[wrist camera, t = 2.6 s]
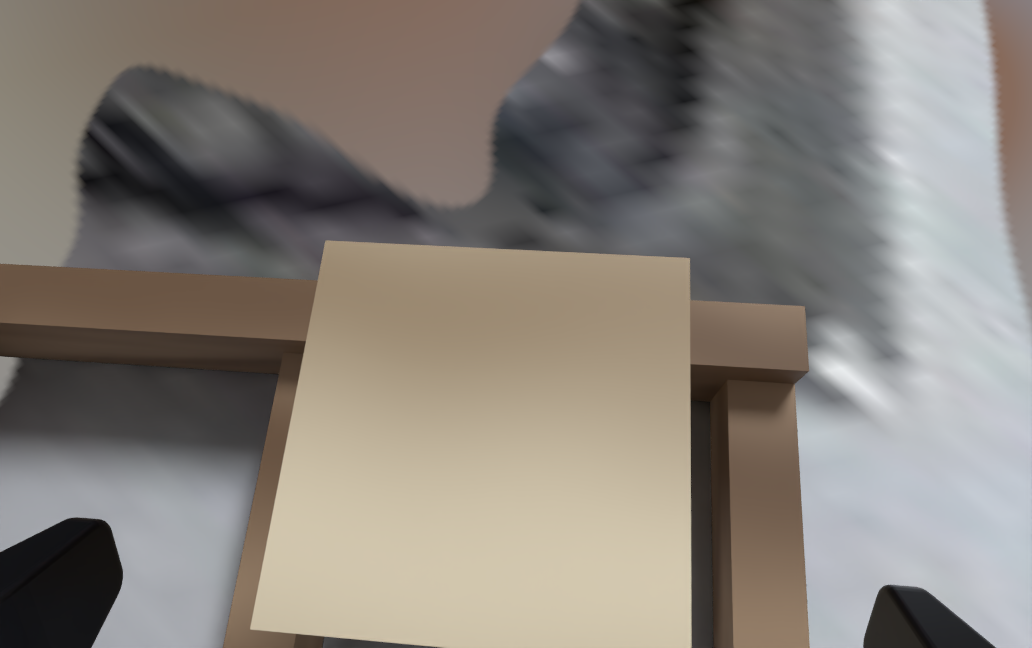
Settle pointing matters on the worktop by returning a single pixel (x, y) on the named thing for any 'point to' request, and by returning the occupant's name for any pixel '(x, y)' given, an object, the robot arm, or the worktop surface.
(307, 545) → the beech block
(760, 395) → the lane rack
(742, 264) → the worktop surface
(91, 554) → the robot arm
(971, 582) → the worktop surface
